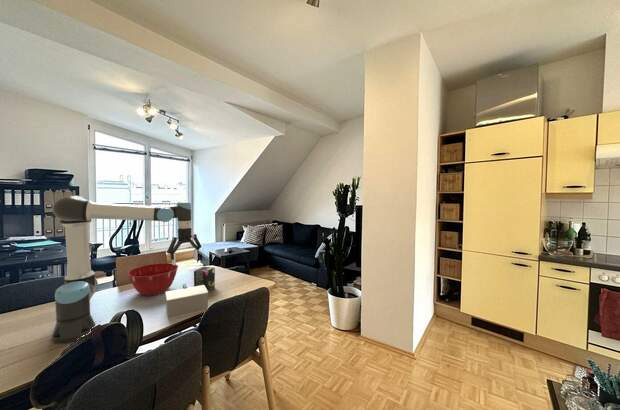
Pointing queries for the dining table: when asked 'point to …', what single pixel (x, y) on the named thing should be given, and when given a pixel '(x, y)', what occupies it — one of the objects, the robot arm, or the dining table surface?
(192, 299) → the open cabinet
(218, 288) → the dining table surface
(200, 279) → the tampon box
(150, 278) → the mixing bowl
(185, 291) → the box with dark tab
